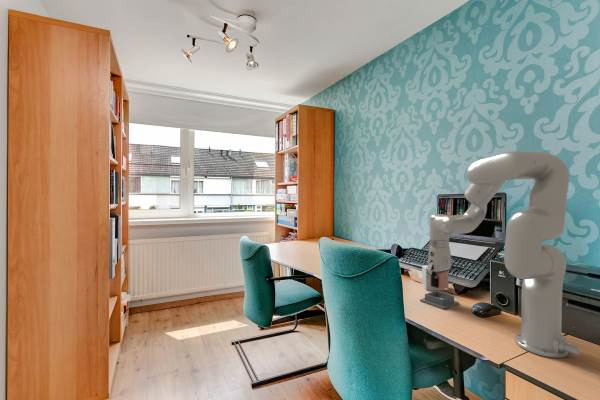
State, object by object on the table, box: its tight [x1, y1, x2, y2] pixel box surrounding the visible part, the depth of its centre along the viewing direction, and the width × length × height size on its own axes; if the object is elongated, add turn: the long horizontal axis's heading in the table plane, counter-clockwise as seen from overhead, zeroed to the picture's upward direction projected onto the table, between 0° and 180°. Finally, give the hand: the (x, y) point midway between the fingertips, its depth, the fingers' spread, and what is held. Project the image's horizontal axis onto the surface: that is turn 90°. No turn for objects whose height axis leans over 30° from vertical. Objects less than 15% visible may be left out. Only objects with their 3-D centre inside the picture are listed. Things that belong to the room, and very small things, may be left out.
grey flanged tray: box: [419, 290, 460, 311], centre depth 127 cm, size 11×11×3 cm
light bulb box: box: [421, 264, 444, 291], centre depth 145 cm, size 11×7×11 cm, turn 84°
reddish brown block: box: [430, 269, 449, 291], centre depth 127 cm, size 5×5×7 cm
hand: (438, 285), depth 127 cm, fingers closed on reddish brown block, 5 cm apart
